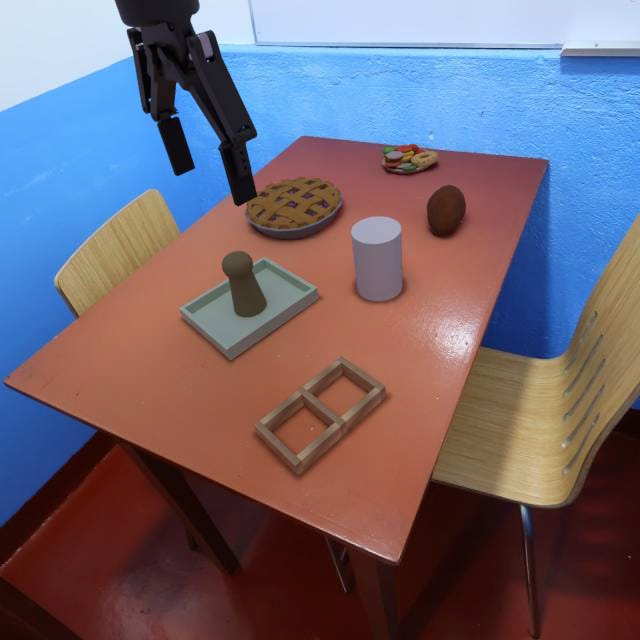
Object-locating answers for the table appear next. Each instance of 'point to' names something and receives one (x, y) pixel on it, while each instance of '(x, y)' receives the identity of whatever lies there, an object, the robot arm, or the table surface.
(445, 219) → the potato
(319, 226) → the pie
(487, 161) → the table surface
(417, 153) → the toy food set
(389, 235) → the cup
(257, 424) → the two-slot wooden frame
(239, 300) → the brown pawn
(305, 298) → the tray
